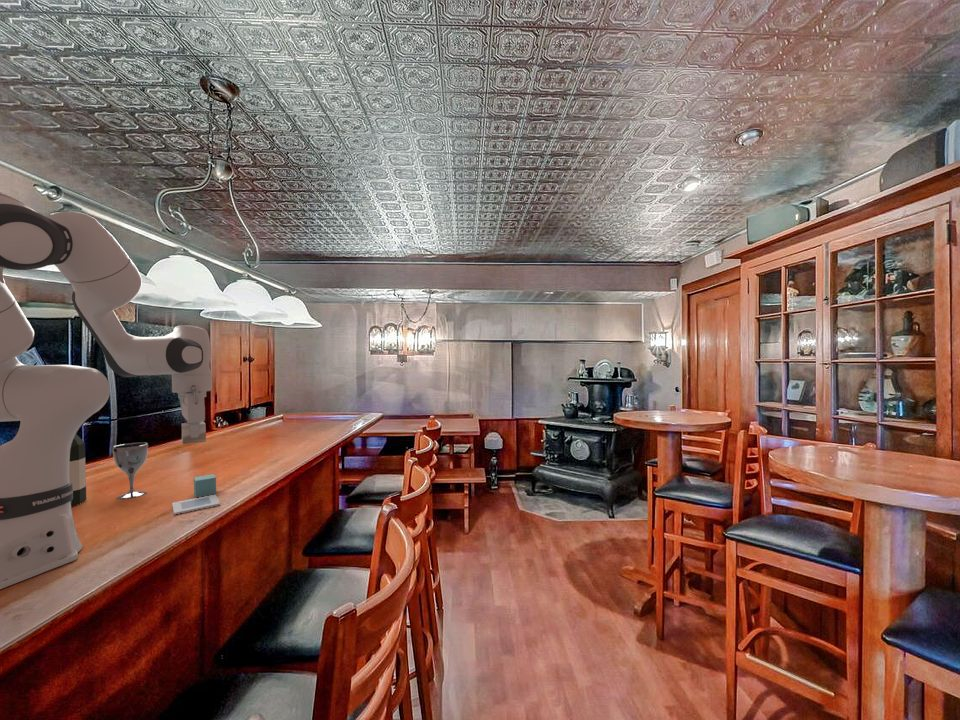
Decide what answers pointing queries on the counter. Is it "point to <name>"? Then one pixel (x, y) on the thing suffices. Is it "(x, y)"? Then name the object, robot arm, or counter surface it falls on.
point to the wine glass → (130, 463)
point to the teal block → (204, 485)
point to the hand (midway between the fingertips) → (193, 435)
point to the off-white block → (187, 438)
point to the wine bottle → (77, 470)
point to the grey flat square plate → (195, 504)
